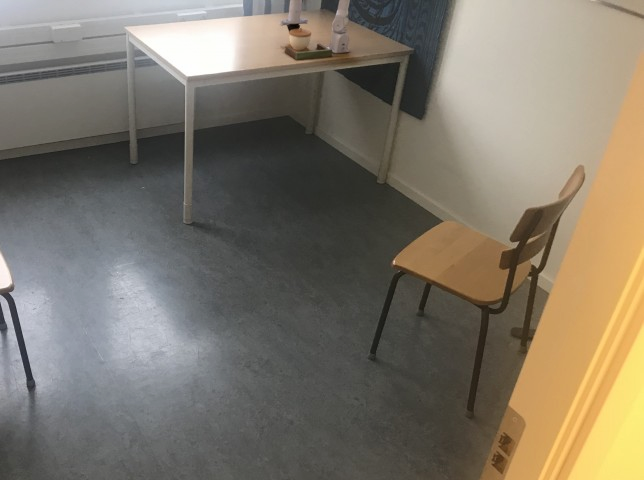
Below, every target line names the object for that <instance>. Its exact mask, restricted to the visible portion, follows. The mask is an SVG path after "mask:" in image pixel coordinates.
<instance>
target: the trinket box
mask: <svg viewBox="0 0 644 480" xmlns="http://www.w3.org/2000/svg"><path fill="white" fill-rule="evenodd" d="M288 37H289V38H288V41H289V44H290V46H291V49H293V50H294V51H304V50H305V49H306V48H307V47H308V46H309V44H310V42H311V38H312V31H311V30H309V29H305V28H302V27H300V28H299V29H292V30H290V32H289V31H288Z"/></svg>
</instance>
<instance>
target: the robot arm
mask: <svg viewBox="0 0 644 480" xmlns="http://www.w3.org/2000/svg"><path fill="white" fill-rule="evenodd" d="M350 1H351V0H339V1H338V5H337V10H336V13H335V17H334V19H333V21H332V23H331V33H330V41H329V46H325V47H326V48H328V49H332V53H333V54H343V53H349V52H350V50H349V44H350V36H349V35H348V34H347V33H348V32H347V31H348V30H347V26H348V24H349V22H350V21H349V20H350V19H349V6H350V3H351V2H350ZM302 3H303V0H289V7H288V18H287V19H283V20H279V26H281V27H283V26H286V28H287V30H288V33H289V32H290V30H292V29H300V28H301V25H307V24H308V23H309V22H308V21H309V19H307V18H301V13H302V6H303V5H302Z"/></svg>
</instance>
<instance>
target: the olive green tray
mask: <svg viewBox="0 0 644 480" xmlns="http://www.w3.org/2000/svg"><path fill="white" fill-rule="evenodd" d="M326 47H327V46H325V45H323V44H321V43H317V44H316V50H306V51H298V52H297V50H295V49H293V48H292V47H290V46H285V47H284V53H286V54H287V55H288V56H290V57H291V58H293V59H294V60H296V61H297V60H309V59H317V58H328V57H332V56H333V52H332V49H328V48H326Z"/></svg>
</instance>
